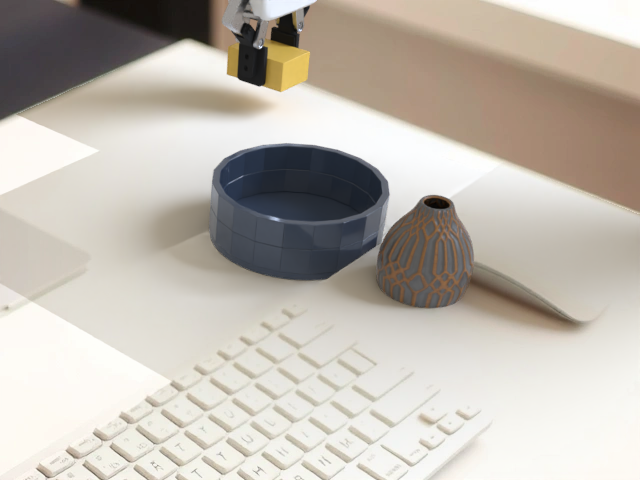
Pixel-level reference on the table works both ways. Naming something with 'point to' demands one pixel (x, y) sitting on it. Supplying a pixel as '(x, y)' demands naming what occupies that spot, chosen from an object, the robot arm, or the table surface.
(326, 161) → the bowl
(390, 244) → the vase
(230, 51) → the yellow block
